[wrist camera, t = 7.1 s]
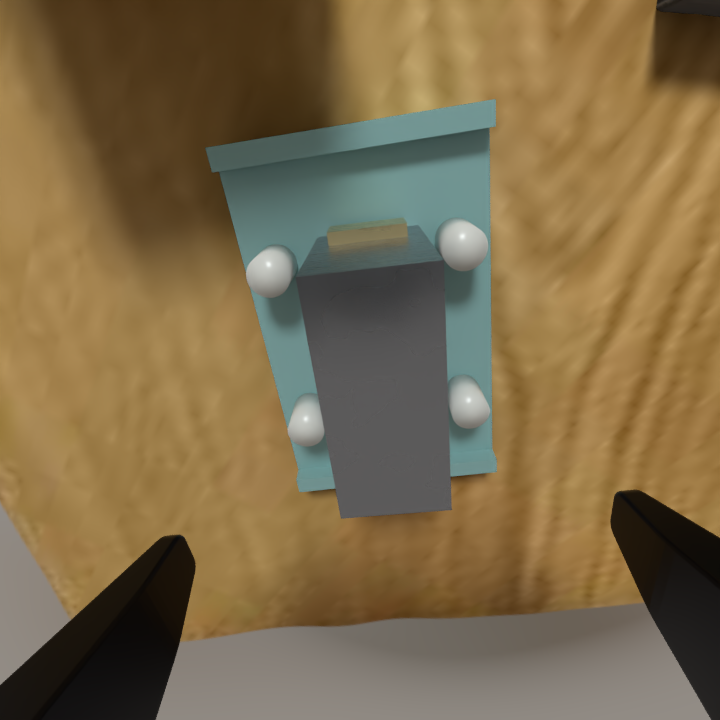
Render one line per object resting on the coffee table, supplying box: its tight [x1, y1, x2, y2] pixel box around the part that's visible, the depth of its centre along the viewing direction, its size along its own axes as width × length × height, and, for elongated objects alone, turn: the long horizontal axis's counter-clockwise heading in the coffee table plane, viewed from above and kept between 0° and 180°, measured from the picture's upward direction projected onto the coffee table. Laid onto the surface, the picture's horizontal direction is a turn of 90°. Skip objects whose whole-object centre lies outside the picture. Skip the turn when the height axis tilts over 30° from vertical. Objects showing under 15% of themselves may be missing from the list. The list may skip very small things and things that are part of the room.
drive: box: [295, 217, 452, 518], centre depth 16 cm, size 4×9×6 cm, turn 7°
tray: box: [205, 99, 497, 492], centre depth 18 cm, size 10×16×3 cm, turn 8°
